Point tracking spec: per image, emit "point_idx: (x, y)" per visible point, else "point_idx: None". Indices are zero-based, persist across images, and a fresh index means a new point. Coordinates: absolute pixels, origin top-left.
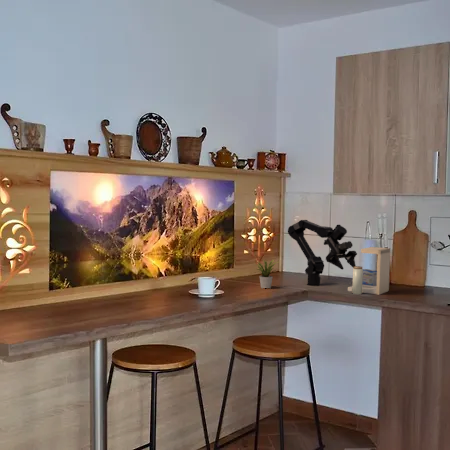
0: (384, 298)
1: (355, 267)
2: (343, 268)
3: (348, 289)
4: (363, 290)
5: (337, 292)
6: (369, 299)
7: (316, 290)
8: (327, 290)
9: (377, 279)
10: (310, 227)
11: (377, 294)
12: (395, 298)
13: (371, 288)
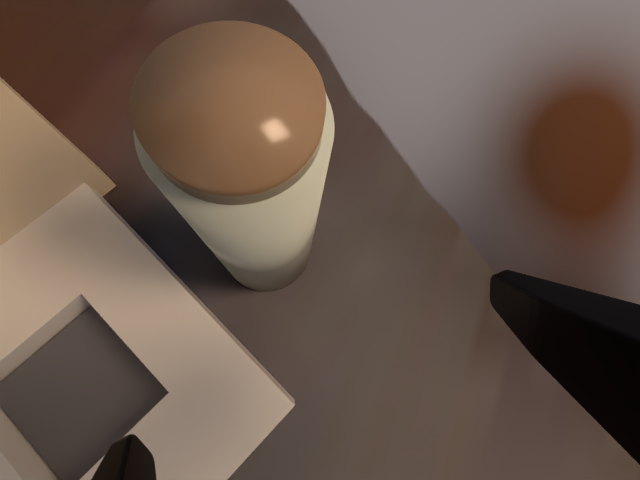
0: (158, 26)
1: (314, 67)
2: (491, 277)
3: (288, 394)
4: (178, 280)
5: (425, 319)
6: (292, 10)
7: (596, 453)
8: (488, 446)
9: (21, 99)
10: None
11: (108, 177)
12: (71, 15)
13: (68, 296)
